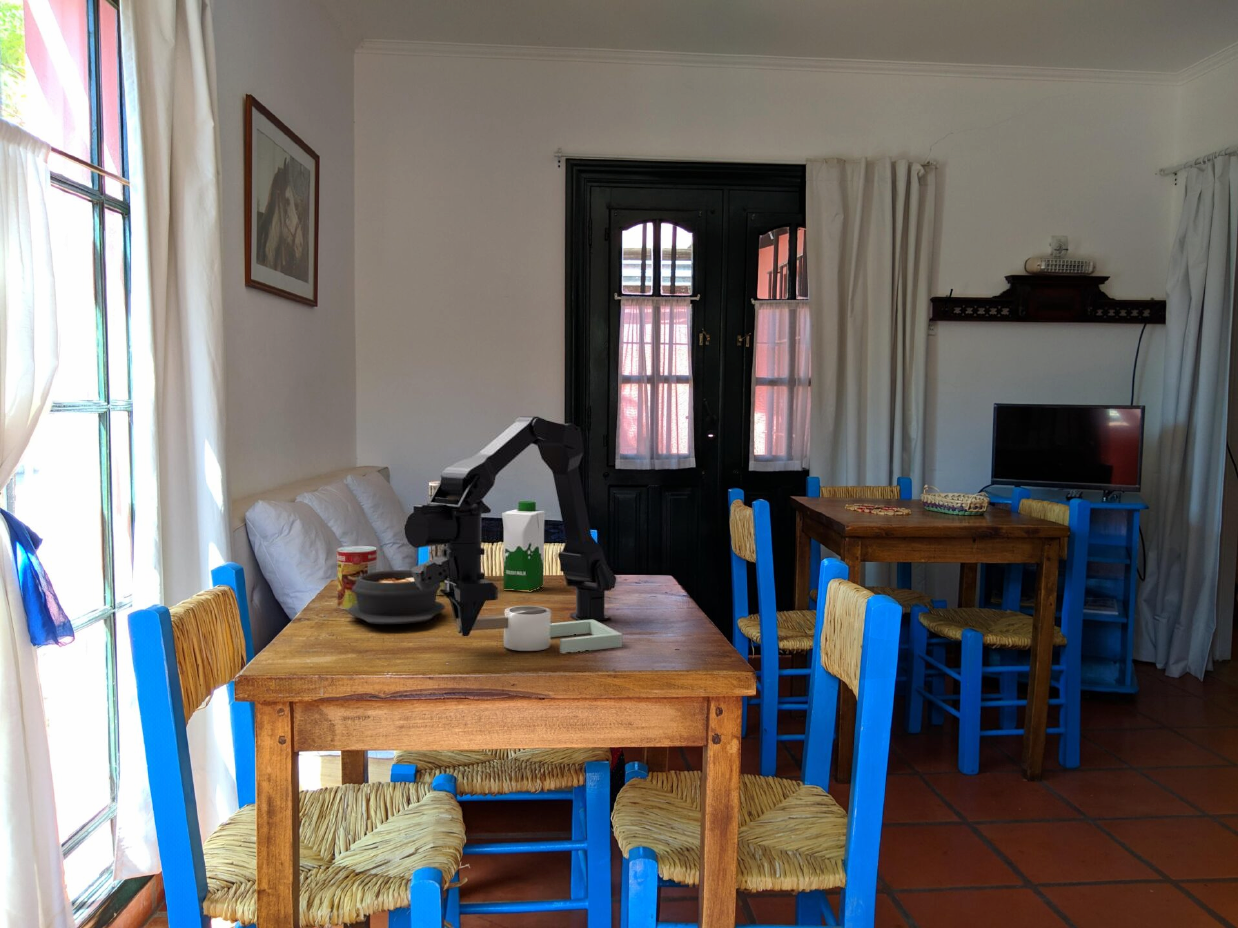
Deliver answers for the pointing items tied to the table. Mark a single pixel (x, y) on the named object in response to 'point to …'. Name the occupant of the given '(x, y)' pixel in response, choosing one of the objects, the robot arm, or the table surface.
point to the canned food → (353, 571)
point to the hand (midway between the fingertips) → (463, 634)
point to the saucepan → (519, 627)
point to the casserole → (393, 598)
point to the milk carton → (523, 547)
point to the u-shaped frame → (599, 640)
